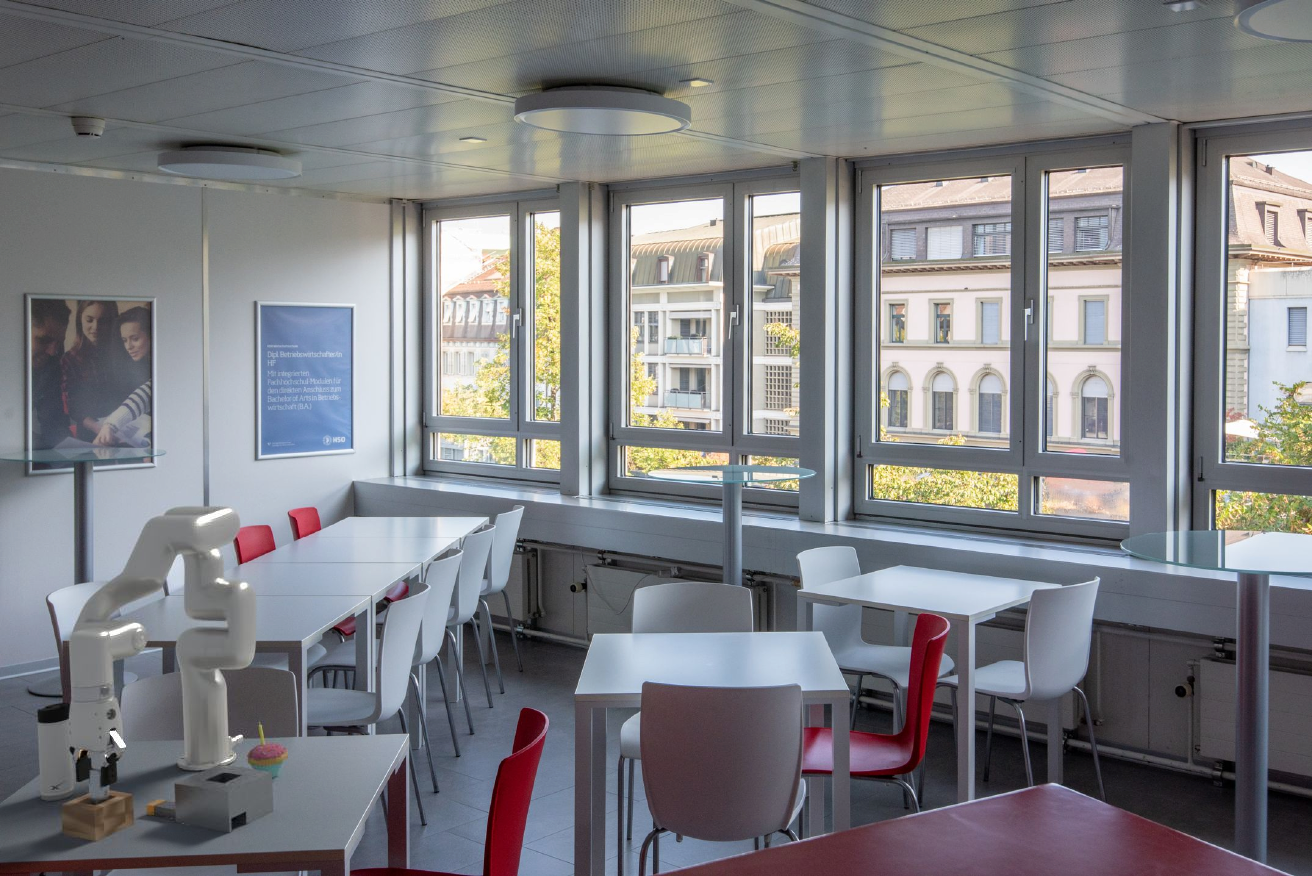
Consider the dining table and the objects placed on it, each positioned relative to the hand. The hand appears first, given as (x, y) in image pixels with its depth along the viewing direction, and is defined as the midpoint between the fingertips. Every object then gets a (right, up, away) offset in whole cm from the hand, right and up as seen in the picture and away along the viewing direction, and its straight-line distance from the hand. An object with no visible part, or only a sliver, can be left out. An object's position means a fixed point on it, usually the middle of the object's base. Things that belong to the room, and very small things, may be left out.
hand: (96, 781), depth 220 cm
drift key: (+15, -9, +6) cm, 18 cm away
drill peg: (0, -9, 0) cm, 9 cm away
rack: (0, -10, 0) cm, 10 cm away
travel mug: (-18, -9, +19) cm, 28 cm away
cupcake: (+24, -8, +29) cm, 39 cm away
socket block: (+23, -9, +6) cm, 25 cm away
